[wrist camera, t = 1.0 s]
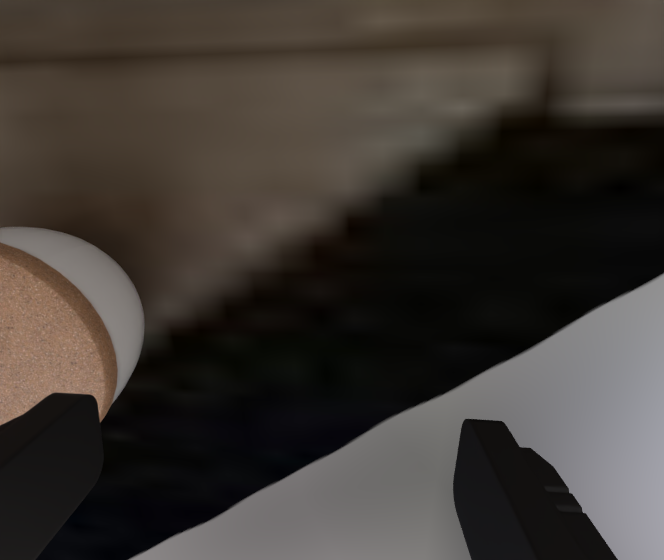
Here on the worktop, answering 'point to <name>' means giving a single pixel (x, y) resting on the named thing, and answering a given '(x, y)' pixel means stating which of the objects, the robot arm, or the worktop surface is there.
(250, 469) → the worktop surface
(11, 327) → the lidded bowl
